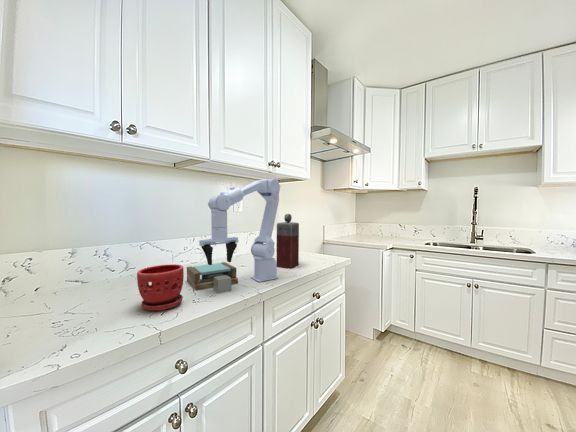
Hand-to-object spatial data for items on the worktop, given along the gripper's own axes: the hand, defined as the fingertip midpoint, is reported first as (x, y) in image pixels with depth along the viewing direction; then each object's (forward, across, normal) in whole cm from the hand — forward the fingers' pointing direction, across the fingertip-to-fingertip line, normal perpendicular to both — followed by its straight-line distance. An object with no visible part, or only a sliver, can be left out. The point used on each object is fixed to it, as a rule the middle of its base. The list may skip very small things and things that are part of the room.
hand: (219, 263), depth 92 cm
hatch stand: (+10, -2, -12) cm, 16 cm away
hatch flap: (+8, -2, -12) cm, 15 cm away
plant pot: (+10, +20, +2) cm, 23 cm away
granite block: (+10, -1, +1) cm, 10 cm away
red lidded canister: (+11, -44, -14) cm, 48 cm away
